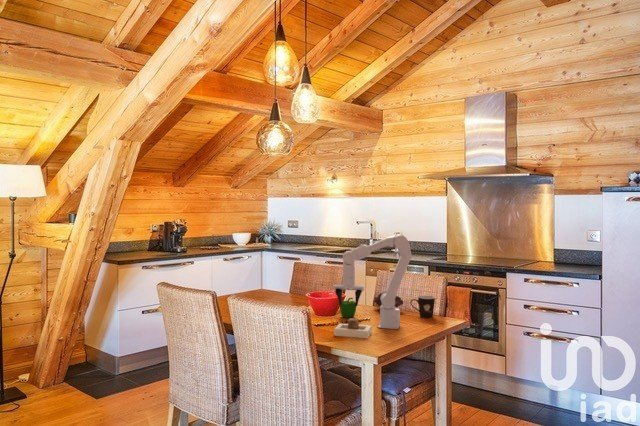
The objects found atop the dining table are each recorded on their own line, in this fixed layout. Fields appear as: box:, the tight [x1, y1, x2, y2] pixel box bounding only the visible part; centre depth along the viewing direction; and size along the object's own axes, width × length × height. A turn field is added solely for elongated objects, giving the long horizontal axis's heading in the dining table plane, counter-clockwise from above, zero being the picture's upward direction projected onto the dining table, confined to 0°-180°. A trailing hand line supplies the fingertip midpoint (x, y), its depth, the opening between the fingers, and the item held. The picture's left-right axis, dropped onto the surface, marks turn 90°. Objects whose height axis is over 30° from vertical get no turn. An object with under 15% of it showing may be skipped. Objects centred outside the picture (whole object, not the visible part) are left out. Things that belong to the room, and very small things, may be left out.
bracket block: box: [347, 317, 360, 329], centre depth 236 cm, size 4×4×6 cm
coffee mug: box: [410, 295, 436, 319], centre depth 269 cm, size 12×9×10 cm
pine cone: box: [372, 291, 404, 308], centre depth 283 cm, size 18×10×10 cm, turn 57°
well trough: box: [333, 323, 373, 339], centre depth 236 cm, size 15×10×3 cm, turn 75°
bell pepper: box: [339, 297, 357, 319], centre depth 267 cm, size 8×8×10 cm
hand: (348, 305), depth 249 cm, fingers open, 7 cm apart
